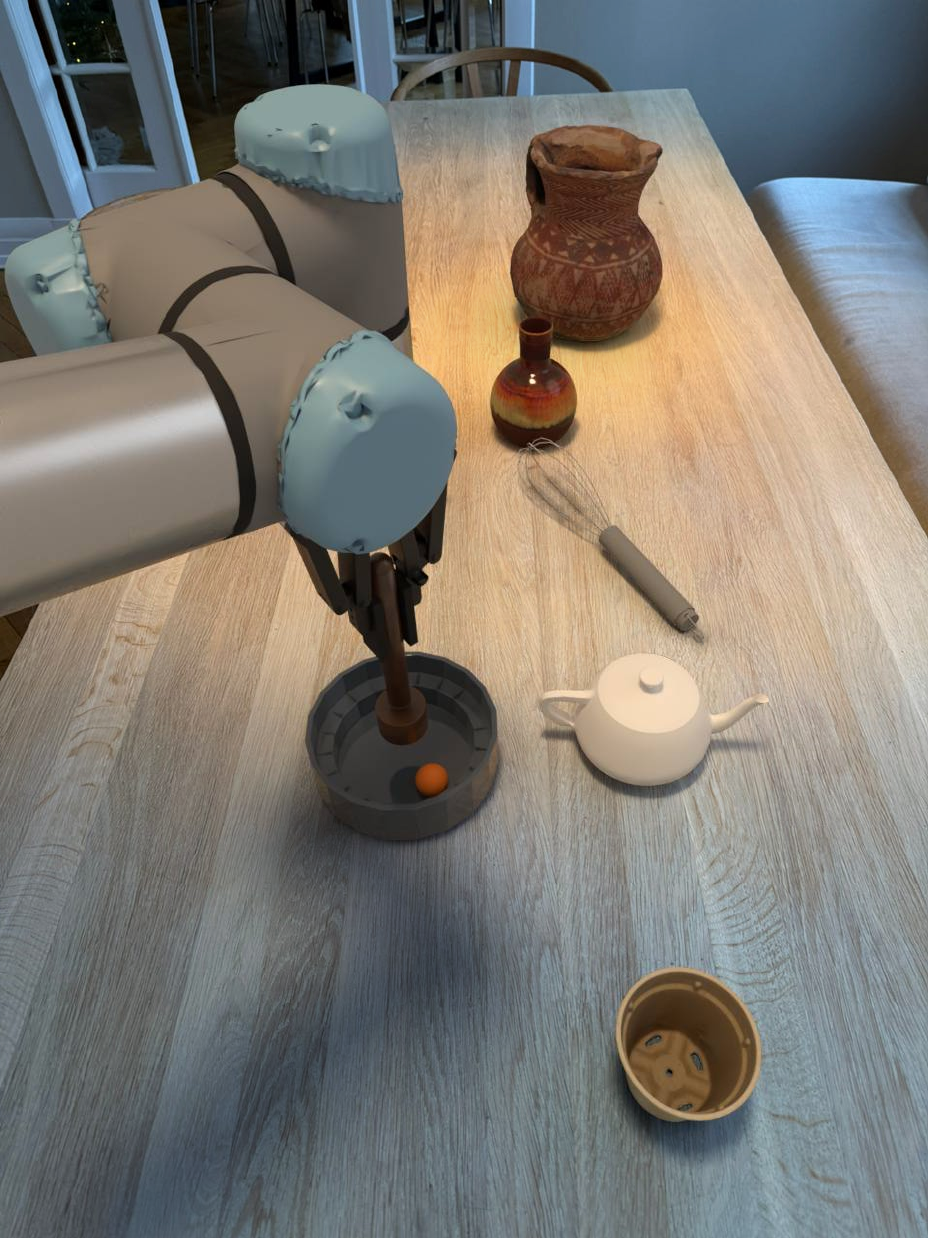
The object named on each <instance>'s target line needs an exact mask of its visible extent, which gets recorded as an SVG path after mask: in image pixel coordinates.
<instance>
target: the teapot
mask: <svg viewBox="0 0 928 1238" xmlns="http://www.w3.org/2000/svg"><path fill="white" fill-rule="evenodd" d="M555 702H556V703H557V702H562V703H563V702H565V703H566V702H567V703H575V704H576V707H575V709H574V715H573V716H572V715H570V713H569V712H567V711H565V710H563V709H561V708H559V707H557V706H556V705H555V704H554V703H555ZM768 703H770V698H769V696H768V695H767V694H764V693H754V694H752V695H751V696H749V697H748V698H745V699H743V701H741V702H740V703H738V704H736V705H735V706H734V707H733V708H731V709H730V710H727V711H725V712H720V713H716V714H712V713H711V712H710V710H709V708H708V705H707V702H706V699H705V695H704V693H703V690H702V688H701V686H700V684H699V682H698V681H697V680H696V679H695V677H694V676H693V675H692V674H691V673H690V672H689V671H688V670H687V669H686V668H685V667H684V666H682V664H680V663H679V662H677V661H675V660H673V659H671V658H669V657H667V656H665V655H664V656H663V655H660V654H656V653H652V652H651V653H649V652H637V653H636V652H635V653H630V654H625V655H623V656H620V657H617V658H616V659H614V660H612V661H611V662H609V663H608V664H606V665H605V666H603V668H601V669H600V670H599V671H598V672H597V673H596V674H595V676H594V677H593V678H592V679H591V681H590V682H589V683H588V684H587V686H586V688H584V689H583V690H582V689H581V690H575V689H555V690H549V691H545V692H544V693H542V695H541V696H540V699H539V710H540V712H541V714H542V715H543V716H544V717H545V718H547V719H548V720H550V721H552V722H554V723H555V724H557V725H558V726H561V727H567V728H571V729H574V731H575V735H576V738H577V739H576V740H577V742H578V744H579V746H580V748H581V751H583V753H584V754H585V756H586V757H587V758H588V760H589V761H590V762H591V764H593V765H594V766H595V767H596V768H597V769H598V770H600V771H601V772H603V773H604V775H607V776H608V777H610V778H612V779H614V780H617V781H620V782H622V783H625V784H630V785H633V786H640V787H643V786H644V787H653V786H663V785H666V784H669V783H672V782H675V781H677V780H679V779H682V778H683V777H686V776H687V775H688V774H689V773H691V772H692V771H693V770H694V769H695V768H696V767H697V766H698V765H699V764H700V763H701V761H702V760H703V758H704V756H705V755H706V753H707V750H708V747H709V745H710V741H711V736H712V735H715V734H719V733H722V732H724V731H726V730H728V729H729V728H731V727H733V726H734V725H736V723H738V722H739V721H740V720H742V719H743V718H744V717H745V716H746V715H747V714H748V713H750V711H752V710H753V709H755V708H756V707H758V706H761V705H763V704H768Z"/></svg>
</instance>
